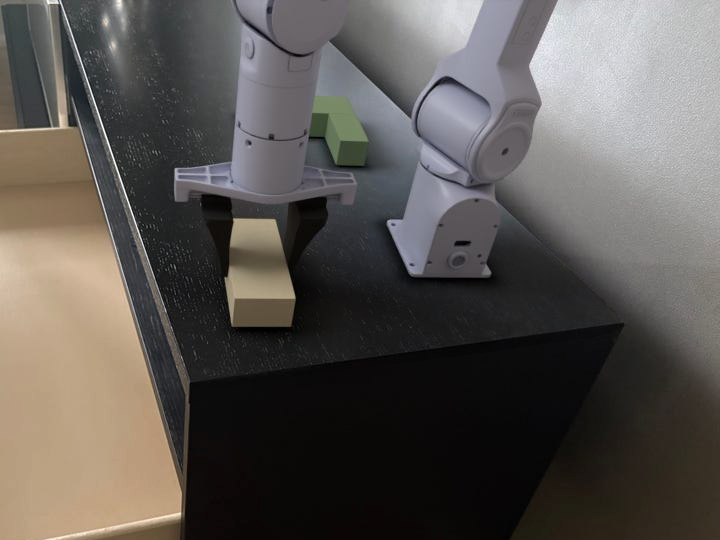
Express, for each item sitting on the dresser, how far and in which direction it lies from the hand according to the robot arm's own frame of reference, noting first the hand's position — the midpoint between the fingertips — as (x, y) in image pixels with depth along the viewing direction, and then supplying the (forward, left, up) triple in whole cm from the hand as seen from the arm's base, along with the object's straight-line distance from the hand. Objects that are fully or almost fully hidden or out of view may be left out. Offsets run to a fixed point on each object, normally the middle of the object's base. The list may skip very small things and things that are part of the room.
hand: (255, 270), depth 66 cm
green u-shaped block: (+29, -9, -2) cm, 30 cm away
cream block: (0, 0, -1) cm, 1 cm away
